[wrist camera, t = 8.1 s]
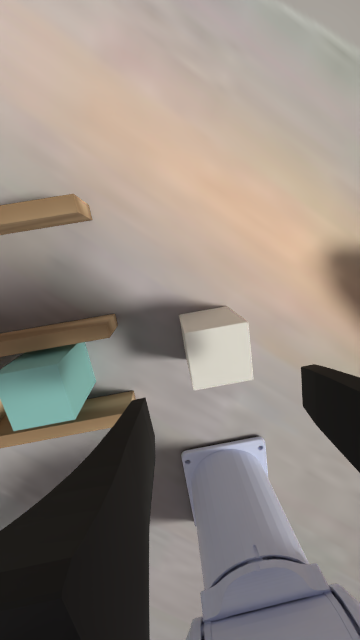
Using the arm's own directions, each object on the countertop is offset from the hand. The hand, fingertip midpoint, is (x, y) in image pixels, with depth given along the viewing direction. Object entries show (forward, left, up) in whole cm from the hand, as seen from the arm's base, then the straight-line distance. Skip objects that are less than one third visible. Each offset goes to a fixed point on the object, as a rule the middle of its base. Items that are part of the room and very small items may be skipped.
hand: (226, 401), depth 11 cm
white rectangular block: (0, -1, -10) cm, 10 cm away
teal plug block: (-1, +11, -10) cm, 15 cm away
